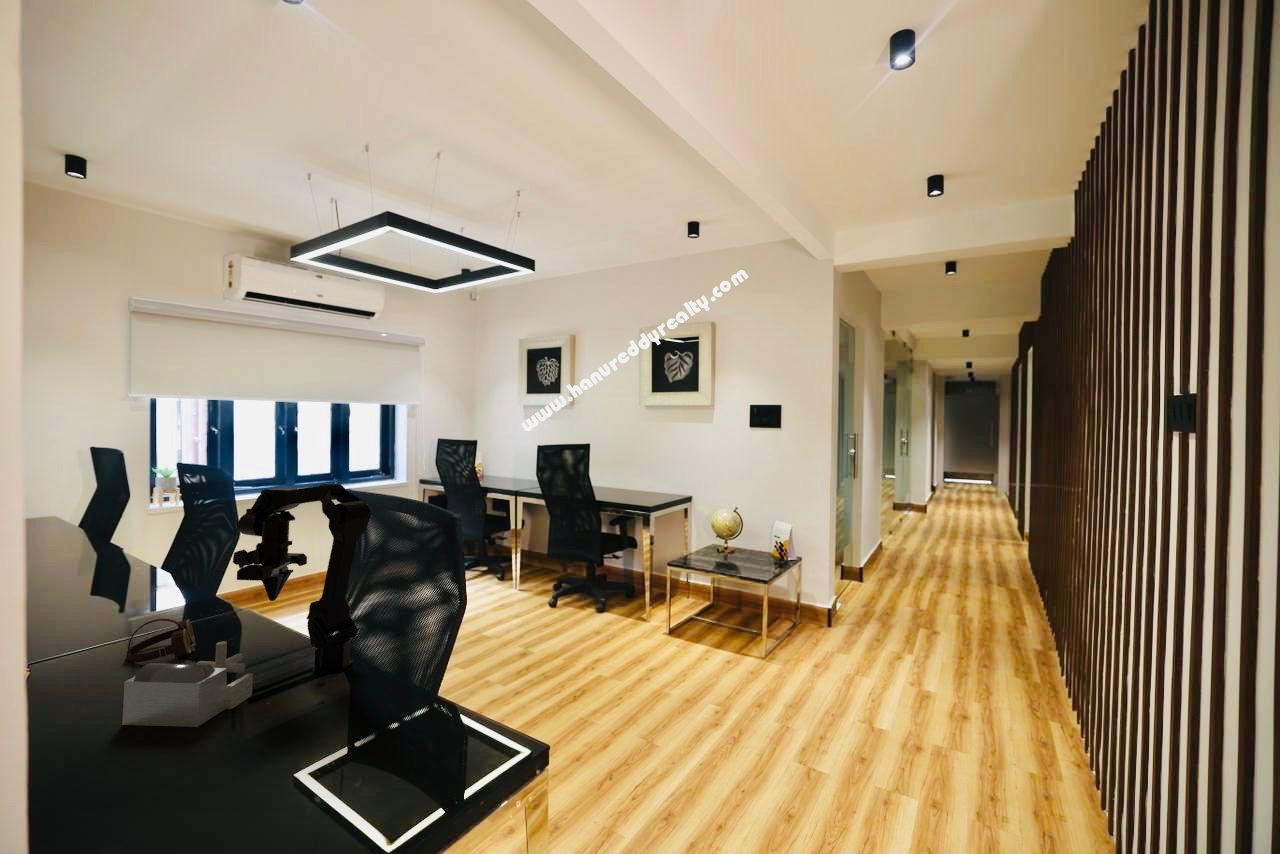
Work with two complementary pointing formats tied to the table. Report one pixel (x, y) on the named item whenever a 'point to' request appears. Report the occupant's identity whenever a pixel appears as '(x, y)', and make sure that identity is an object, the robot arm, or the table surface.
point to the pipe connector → (226, 660)
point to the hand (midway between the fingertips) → (272, 600)
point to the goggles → (178, 639)
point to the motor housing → (180, 694)
